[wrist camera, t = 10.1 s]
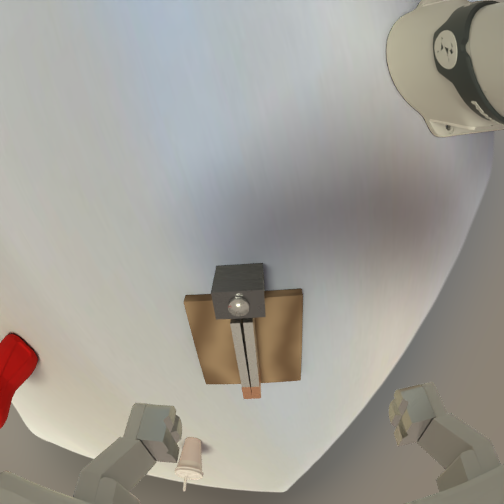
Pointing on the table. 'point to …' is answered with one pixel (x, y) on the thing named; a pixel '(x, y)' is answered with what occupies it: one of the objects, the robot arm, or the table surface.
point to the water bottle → (13, 370)
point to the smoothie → (190, 461)
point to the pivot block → (239, 291)
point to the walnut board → (267, 334)
